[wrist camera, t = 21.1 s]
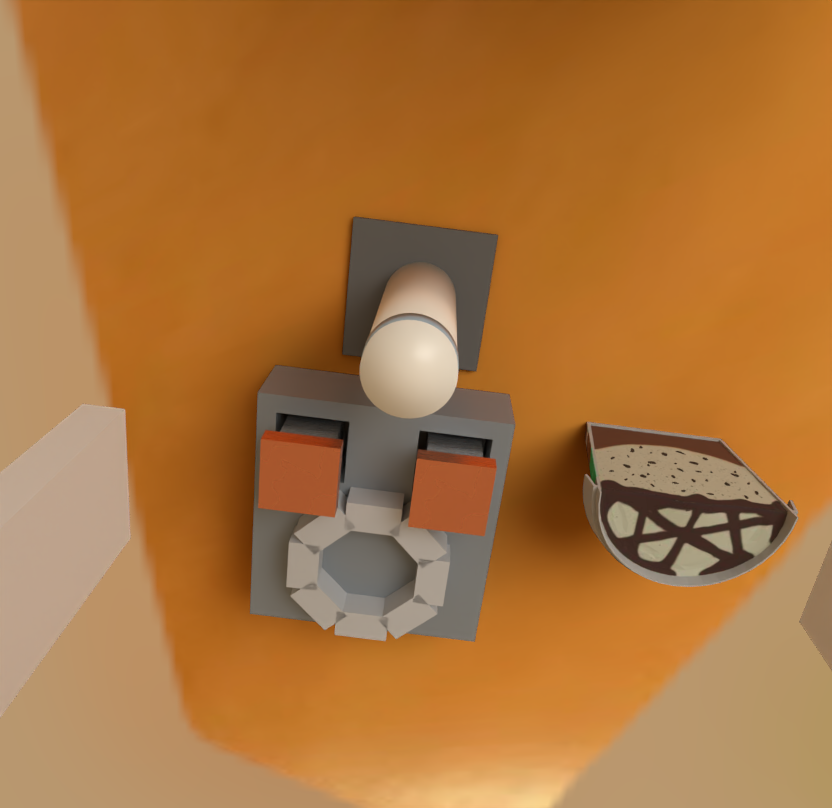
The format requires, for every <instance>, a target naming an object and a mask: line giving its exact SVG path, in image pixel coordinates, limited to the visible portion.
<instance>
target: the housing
mask: <svg viewBox="0 0 832 808" xmlns="http://www.w3.org/2000/svg"><path fill="white" fill-rule="evenodd" d="M289 414H292V415H300V416H308V417H316V418H324V419H332V420H340V421H344V430H343V452H342V463H341V475H340V486H339V498H338V508H337V511H336V515H335V518H334V517H326V516H318V515H310V514H302V513H294V512H286V511H278V510H270V509H262V508H258V500H259V473H260V446H261V438H262V436H263V434H264V432H265V430H269V431H277V432H280V431H281V429H282V427H283V425H284V423H285V421H286V419H287V417H288V415H289ZM514 429H515V421H514V416H513V411H512V405H511V400H510V395H509V394H503V393H495V392H487V391H479V390H471V389H463V388H455V390H454V392H453V394H452V396H451V398H450V399H449V400H448V402H447V403H446V404H445V405H444V406H443V407H441V408H440V409H439V410H437V411H436V412H434V413H432V414H430V415H427V416H424V417H420V418H411V419H408V418H400V417H395V416H392V415H390V414H387V413H385V412H384V411H382V410H380V409H379V408H378V407H376V406H375V405H374V404H373V403H372V402H371V401H370V399H369V398H368V397H367V395H366V393H365V392H364V390H363V387H362V384H361V380H360V376H359V375H352V374H344V373H336V372H328V371H320V370H312V369H304V368H296V367H288V366H280V365H275V367H274V368H273V370H272V371H271V373H270V374H269V376H268V377H267V379H266V381H265V382H264V384H263V385H262V387H261V388H260V390H259V391H258V399H257V428H256V457H255V485H254V514H253V543H252V572H251V601H250V614H257V615H265V616H273V617H281V618H289V619H297V620H305V621H313V622H317V623H318V624H319V625H320V626H321V627H322V628H323V629H324V630H326V629H327V628H329V627H330V626H332V625H334V624H335V635H340V636H348V637H356V638H364V639H372V640H380V641H386V635H387V631H389V632H390V633H391V634H392V635H393V636H394V637H395V638H396V639H397V638H399V637H401V636H402V635H404V634H406V633H410V634H418V635H426V636H434V637H442V638H450V639H458V640H466V641H474V642H475V637H476V631H477V626H478V621H479V615H480V610H481V605H482V599H483V594H484V589H485V583H486V578H487V573H488V567H489V562H490V557H491V551H492V546H493V541H494V535H495V530H496V525H497V519H498V514H499V509H500V503H501V498H502V493H503V487H504V482H505V477H506V471H507V466H508V461H509V455H510V450H511V445H512V439H513V434H514ZM428 432H435V433H443V434H451V435H459V436H467V437H475V438H482V450H483V457H484V458H492V459H496V466H497V470H496V476H495V481H494V487H493V492H492V498H491V503H490V509H489V514H488V520H487V525H486V531H485V536H478V535H470V534H462V533H454V532H446V531H438V530H430V529H422V528H414V527H408V522H409V513H410V506H411V498H412V490H413V483H414V475H415V468H416V460H417V452H418V449H420V450H426V443H427V436H428Z"/></svg>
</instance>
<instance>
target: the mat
mask: <svg viewBox="0 0 832 808" xmlns="http://www.w3.org/2000/svg"><path fill="white" fill-rule="evenodd" d="M497 239H498V235H496V234H488V233H480V232H472V231H464V230H456V229H448V228H440V227H433V226H425V225H417V224H409V223H401V222H393V221H385V220H377V219H369V218H361V217H354V219H353V231H352V243H351V255H350V267H349V280H348V292H347V304H346V316H345V328H344V341H343V353H342V354H343V355H351V356H359V357H362V352H363V349H364V346H365V343H366V341H367V339H368V337H369V335H370V332H371V329H372V326H373V323H374V320H375V317H376V314H377V311H378V308H379V305H380V302H381V299H382V296H383V293H384V291H385V288H386V285H387V282H388V280H389V279H390V277H391V276H392V275H393V273H394V272H395V271H397V270H398V269H399V268H401V267H402V266H404V265H407V264H410V263H414V262H425V263H430V264H433V265H435V266H437V267H439V268H440V269H442V270H443V271H444V272H445V273H446V274H447V275H448V276H449V278H450V279H451V281H452V283H453V285H454V288H455V293H456V321H457V349H458V357H459V369H462V370H470V371H476V370H477V364H478V358H479V351H480V345H481V339H482V333H483V326H484V320H485V314H486V308H487V301H488V295H489V289H490V282H491V276H492V270H493V264H494V257H495V251H496V245H497Z"/></svg>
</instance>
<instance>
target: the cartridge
mask: <svg viewBox="0 0 832 808" xmlns="http://www.w3.org/2000/svg"><path fill="white" fill-rule="evenodd" d="M458 371H459V357H458V349H457V321H456V293H455V288H454V285H453V283H452V281H451V279H450V278H449V276H448V275H447V274H446V273H445V272H444V271H443V270H442V269H440V268H439V267H437V266H435V265H433V264H430V263H425V262H414V263H410V264H407V265H404V266H402V267H401V268H399V269H398V270H397V271H395V272H394V273H393V275H392V276H391V277H390V279H389V280H388V282H387V285H386V288H385V291H384V293H383V296H382V299H381V302H380V305H379V308H378V311H377V314H376V317H375V320H374V323H373V326H372V329H371V332H370V335H369V337H368V339H367V341H366V343H365V346H364V349H363V352H362V357H361V362H360V380H361V384H362V387H363V390H364V392H365V393H366V395H367V397H368V398H369V399H370V401H371V402H372V403H373V404H374V405H375V406H376V407H378V408H379V409H380V410H382V411H384V412H385V413H387V414H390V415H392V416H395V417H400V418H408V419H411V418H420V417H424V416H427V415H430V414H432V413H434V412H436V411H437V410H439V409H440V408H441V407H443V406H444V405H445V404H446V403H447V402H448V400H449V399H450V398H451V396H452V394H453V392H454V390H455V388H456V385H457V380H458Z"/></svg>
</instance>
